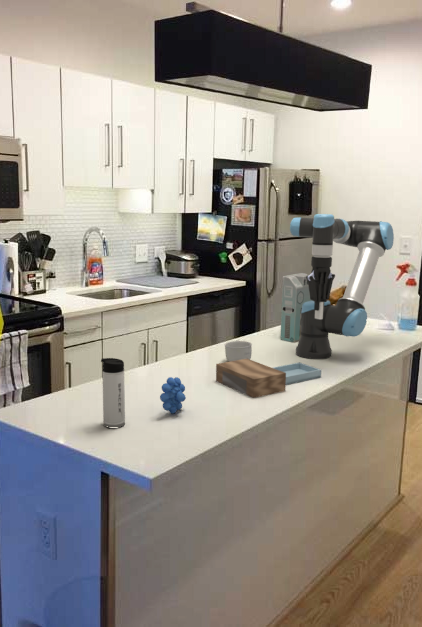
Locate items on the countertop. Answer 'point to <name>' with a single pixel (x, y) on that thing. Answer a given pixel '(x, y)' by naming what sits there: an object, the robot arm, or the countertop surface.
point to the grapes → (172, 395)
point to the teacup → (238, 350)
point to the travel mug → (113, 392)
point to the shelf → (250, 377)
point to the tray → (299, 372)
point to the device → (293, 305)
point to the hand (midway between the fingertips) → (318, 318)
